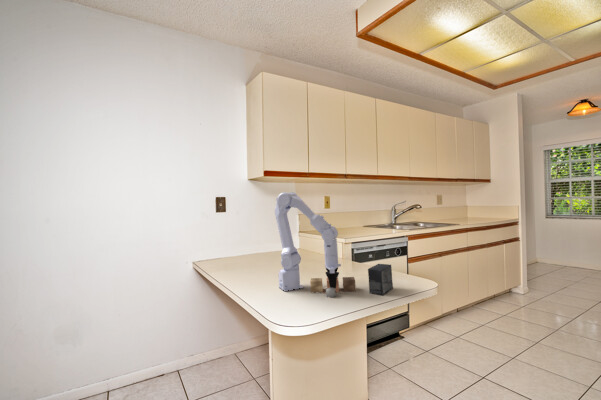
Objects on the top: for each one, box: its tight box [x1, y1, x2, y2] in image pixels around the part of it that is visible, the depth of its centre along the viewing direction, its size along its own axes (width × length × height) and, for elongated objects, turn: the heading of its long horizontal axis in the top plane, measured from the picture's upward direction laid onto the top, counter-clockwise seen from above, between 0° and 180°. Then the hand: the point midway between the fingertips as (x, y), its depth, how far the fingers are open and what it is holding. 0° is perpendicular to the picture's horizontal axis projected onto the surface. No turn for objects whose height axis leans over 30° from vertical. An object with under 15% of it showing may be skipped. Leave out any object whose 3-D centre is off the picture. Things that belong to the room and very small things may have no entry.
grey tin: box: [325, 287, 337, 299], centre depth 122 cm, size 4×4×3 cm
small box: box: [367, 263, 394, 296], centre depth 125 cm, size 11×6×10 cm, turn 141°
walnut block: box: [342, 276, 357, 293], centre depth 129 cm, size 5×5×5 cm
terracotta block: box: [326, 276, 340, 293], centre depth 129 cm, size 5×5×5 cm
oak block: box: [310, 277, 324, 293], centre depth 130 cm, size 5×5×5 cm
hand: (332, 285), depth 129 cm, fingers open, 7 cm apart
